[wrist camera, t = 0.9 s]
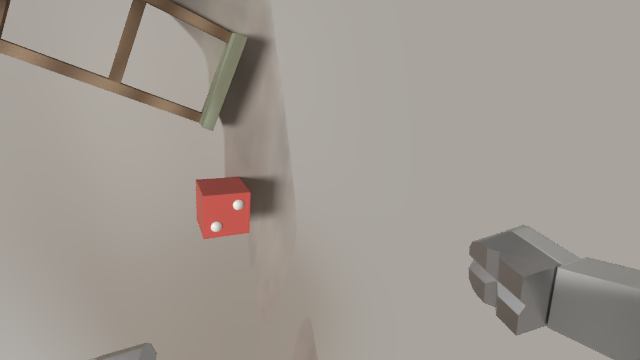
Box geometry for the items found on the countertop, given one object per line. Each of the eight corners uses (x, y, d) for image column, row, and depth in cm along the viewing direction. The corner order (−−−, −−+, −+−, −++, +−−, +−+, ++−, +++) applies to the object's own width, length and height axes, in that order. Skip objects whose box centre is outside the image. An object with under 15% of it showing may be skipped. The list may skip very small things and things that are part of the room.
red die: (196, 218, 49) (203, 239, 44) (195, 179, 47) (203, 196, 42) (238, 214, 52) (249, 233, 47) (239, 177, 50) (250, 192, 45)
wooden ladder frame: (-195, -18, 27) (-241, -26, 24) (-170, -174, 26) (-215, -206, 22) (207, 124, 45) (212, 130, 42) (239, 37, 43) (247, 37, 40)
